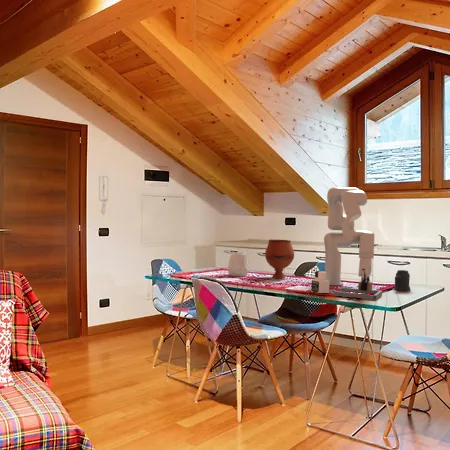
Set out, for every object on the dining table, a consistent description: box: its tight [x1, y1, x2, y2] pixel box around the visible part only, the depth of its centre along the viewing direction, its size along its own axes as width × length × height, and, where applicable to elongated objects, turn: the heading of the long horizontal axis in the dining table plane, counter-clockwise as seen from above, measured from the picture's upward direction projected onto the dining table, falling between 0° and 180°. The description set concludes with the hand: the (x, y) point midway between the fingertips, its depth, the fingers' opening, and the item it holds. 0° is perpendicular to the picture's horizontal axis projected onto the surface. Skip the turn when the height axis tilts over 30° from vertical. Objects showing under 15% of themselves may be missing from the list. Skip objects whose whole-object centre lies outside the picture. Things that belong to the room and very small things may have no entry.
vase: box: [227, 252, 250, 278], centre depth 336 cm, size 14×14×15 cm
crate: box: [357, 280, 373, 292], centre depth 264 cm, size 6×5×4 cm
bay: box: [332, 286, 383, 301], centre depth 265 cm, size 22×16×2 cm
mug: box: [393, 269, 411, 293], centre depth 285 cm, size 12×9×11 cm
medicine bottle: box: [310, 270, 330, 294], centre depth 273 cm, size 7×7×12 cm
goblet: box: [264, 238, 295, 280], centre depth 328 cm, size 19×19×25 cm
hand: (365, 288), depth 264 cm, fingers closed on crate, 5 cm apart
